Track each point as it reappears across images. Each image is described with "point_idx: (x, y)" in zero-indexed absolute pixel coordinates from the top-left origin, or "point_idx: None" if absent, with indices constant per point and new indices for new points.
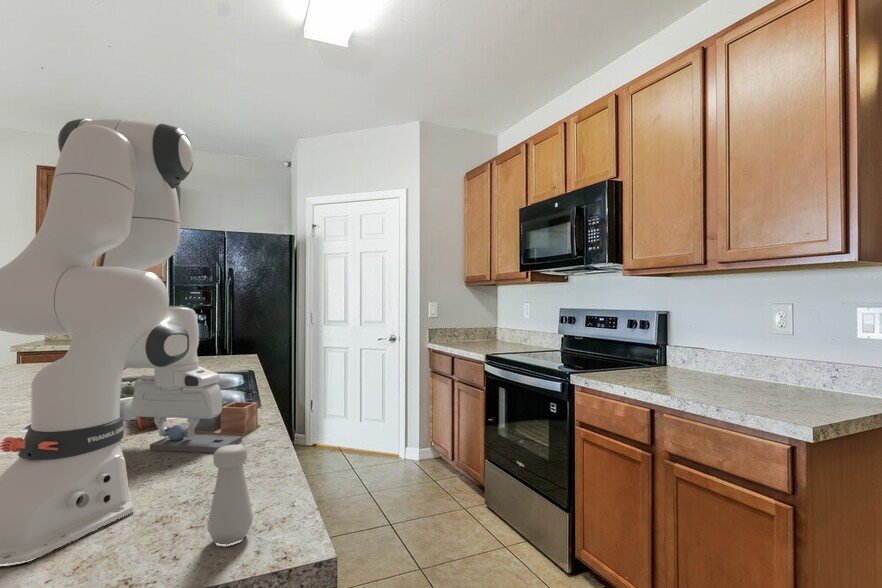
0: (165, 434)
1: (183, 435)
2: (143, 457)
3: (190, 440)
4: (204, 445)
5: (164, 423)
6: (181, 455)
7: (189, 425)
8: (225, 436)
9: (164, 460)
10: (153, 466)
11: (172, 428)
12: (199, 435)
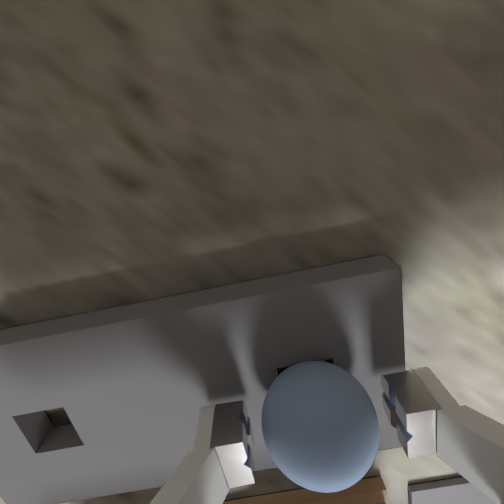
0: (387, 385)
1: (243, 406)
2: (309, 138)
3: (211, 395)
4: (37, 359)
5: (473, 476)
6: (110, 246)
7: (180, 491)
8: (88, 487)
9: (120, 140)
10: (70, 13)
11: (333, 431)
12: None
